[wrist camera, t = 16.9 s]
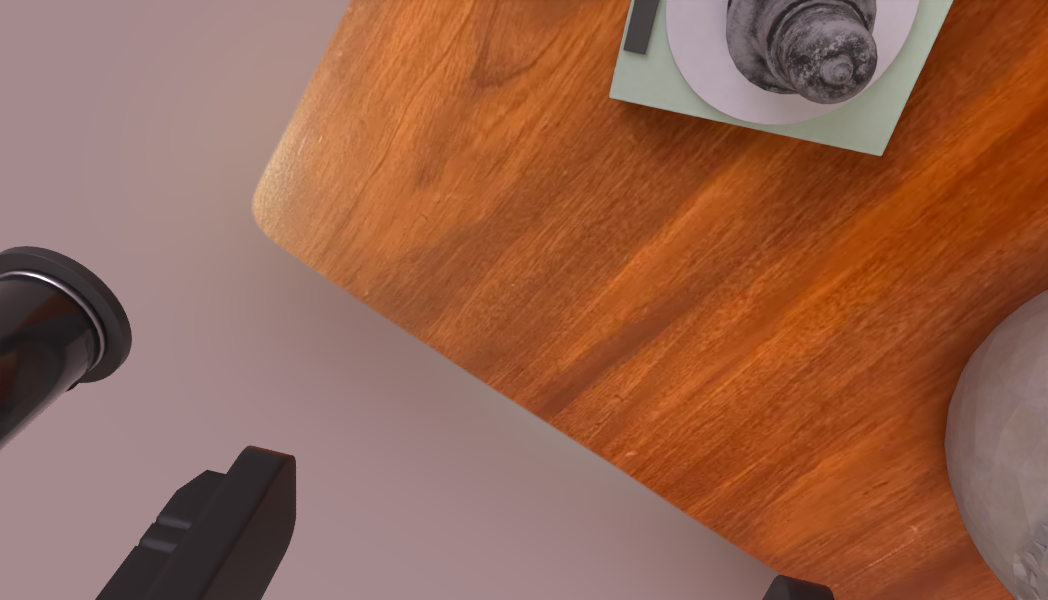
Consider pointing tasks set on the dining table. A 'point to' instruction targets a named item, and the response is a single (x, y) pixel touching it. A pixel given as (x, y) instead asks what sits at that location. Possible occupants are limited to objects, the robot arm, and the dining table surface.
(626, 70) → the scale
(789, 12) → the salt shaker
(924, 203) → the dining table surface
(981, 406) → the bowl
